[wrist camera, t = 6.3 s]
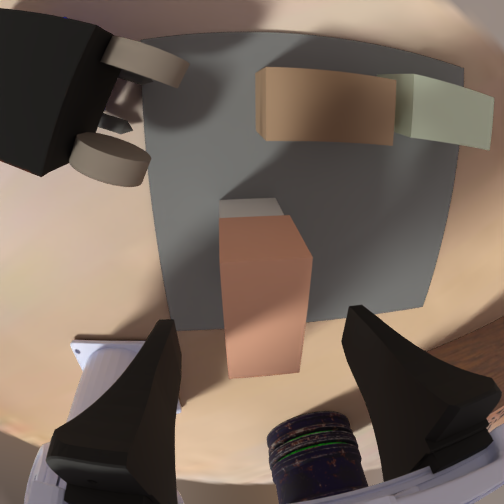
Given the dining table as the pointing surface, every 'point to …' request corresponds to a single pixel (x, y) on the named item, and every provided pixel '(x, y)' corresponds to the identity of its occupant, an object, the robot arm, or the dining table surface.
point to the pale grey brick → (249, 207)
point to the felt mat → (291, 177)
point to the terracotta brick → (263, 294)
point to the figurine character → (72, 95)
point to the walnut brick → (324, 106)
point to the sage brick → (442, 111)
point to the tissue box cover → (480, 359)
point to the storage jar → (314, 457)
